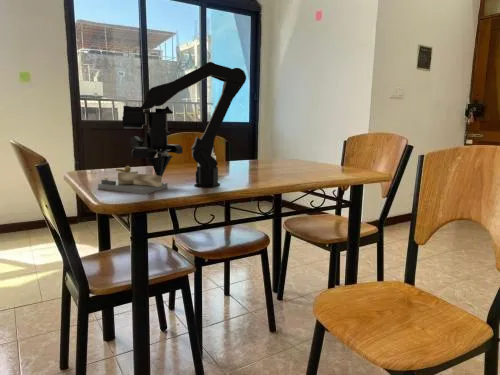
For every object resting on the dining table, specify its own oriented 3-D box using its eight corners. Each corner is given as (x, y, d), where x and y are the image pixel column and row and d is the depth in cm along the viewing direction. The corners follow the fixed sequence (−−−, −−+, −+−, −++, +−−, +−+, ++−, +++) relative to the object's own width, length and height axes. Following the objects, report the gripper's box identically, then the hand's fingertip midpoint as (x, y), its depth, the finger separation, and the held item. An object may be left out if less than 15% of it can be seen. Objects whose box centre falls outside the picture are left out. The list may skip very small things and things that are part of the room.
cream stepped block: (165, 184, 116) (165, 167, 115) (153, 187, 111) (152, 170, 110) (124, 180, 123) (123, 164, 122) (110, 183, 118) (109, 166, 117)
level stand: (167, 187, 121) (167, 175, 120) (144, 194, 111) (144, 180, 110) (123, 183, 128) (122, 171, 127) (98, 188, 118) (97, 176, 117)
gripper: (155, 127, 131) (157, 172, 134) (116, 128, 114) (118, 180, 117) (183, 128, 126) (183, 174, 129) (146, 129, 109) (148, 183, 112)
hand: (159, 177), depth 122 cm, fingers closed
